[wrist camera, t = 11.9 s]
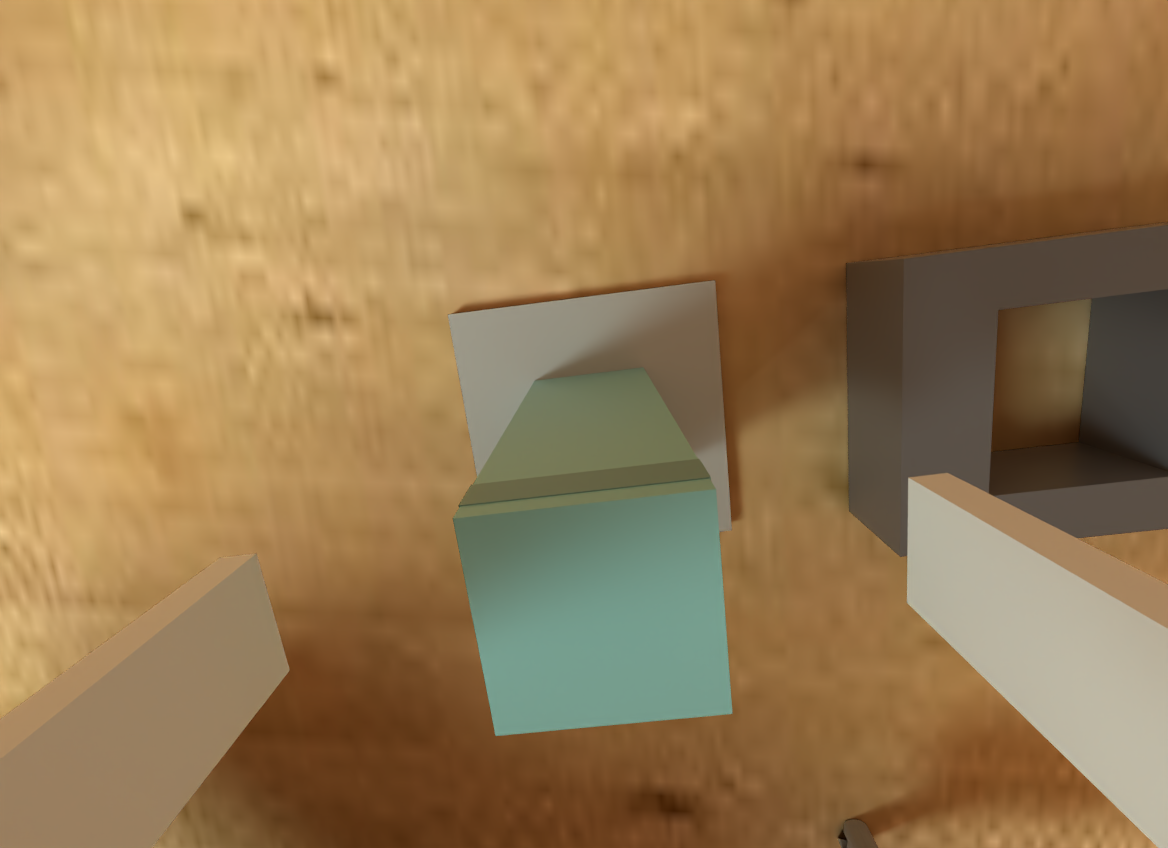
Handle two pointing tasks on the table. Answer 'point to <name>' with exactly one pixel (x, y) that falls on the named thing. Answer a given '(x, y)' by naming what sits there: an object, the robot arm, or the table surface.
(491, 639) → the plug
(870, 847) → the mechanical component
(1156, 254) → the cinder block
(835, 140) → the table surface
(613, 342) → the mat
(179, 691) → the robot arm
